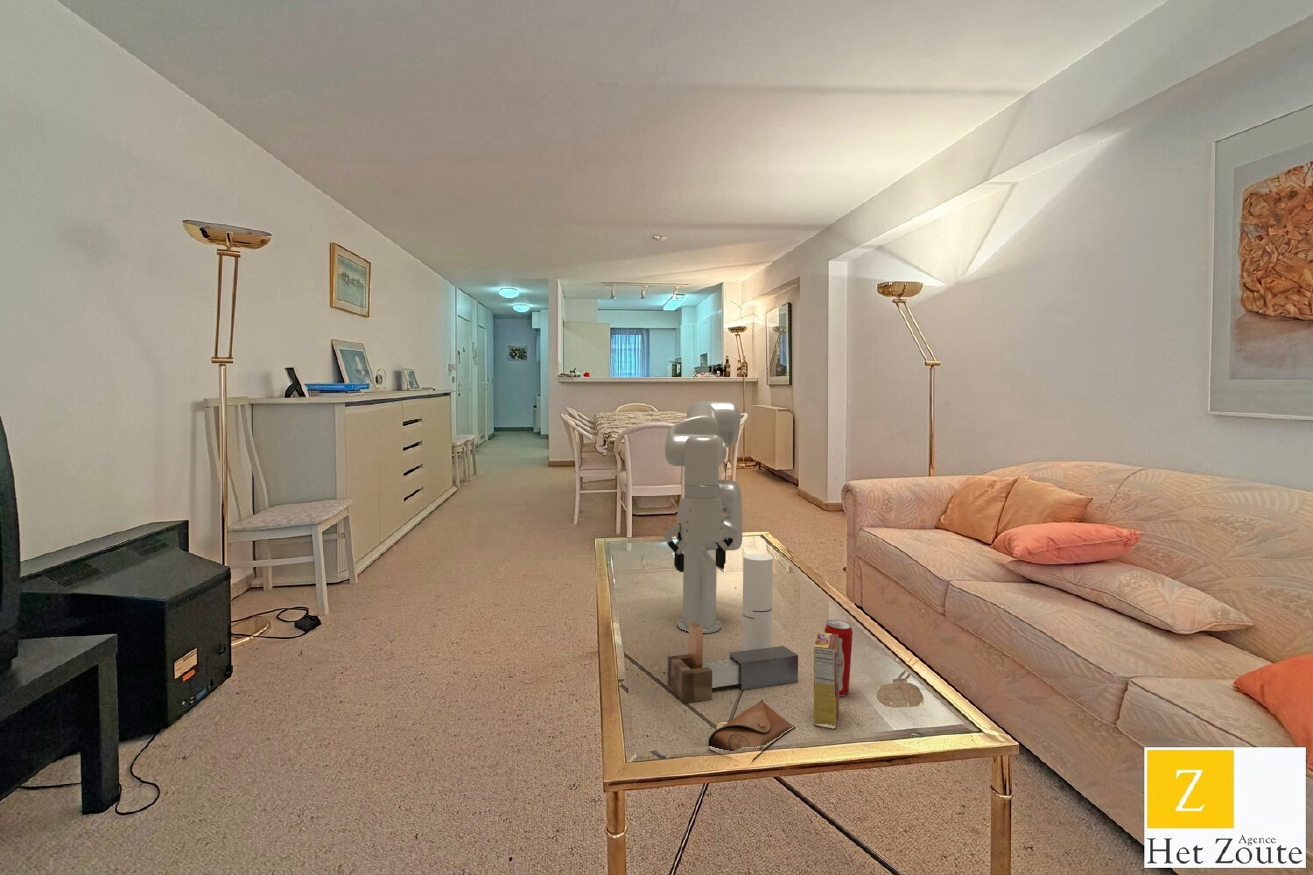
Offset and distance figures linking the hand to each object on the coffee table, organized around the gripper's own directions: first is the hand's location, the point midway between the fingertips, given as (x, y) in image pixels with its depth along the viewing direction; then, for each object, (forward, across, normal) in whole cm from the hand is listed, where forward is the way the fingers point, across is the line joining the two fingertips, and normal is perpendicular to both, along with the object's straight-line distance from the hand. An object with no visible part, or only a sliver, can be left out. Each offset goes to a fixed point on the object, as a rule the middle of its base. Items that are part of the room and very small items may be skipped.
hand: (700, 569), depth 130 cm
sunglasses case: (+25, 0, +26) cm, 36 cm away
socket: (+25, +4, +4) cm, 26 cm away
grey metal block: (+25, -14, +4) cm, 29 cm away
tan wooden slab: (+24, -3, +4) cm, 25 cm away
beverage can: (+25, -26, +14) cm, 39 cm away
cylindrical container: (+26, -19, -8) cm, 33 cm away
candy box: (+25, -17, +23) cm, 38 cm away
